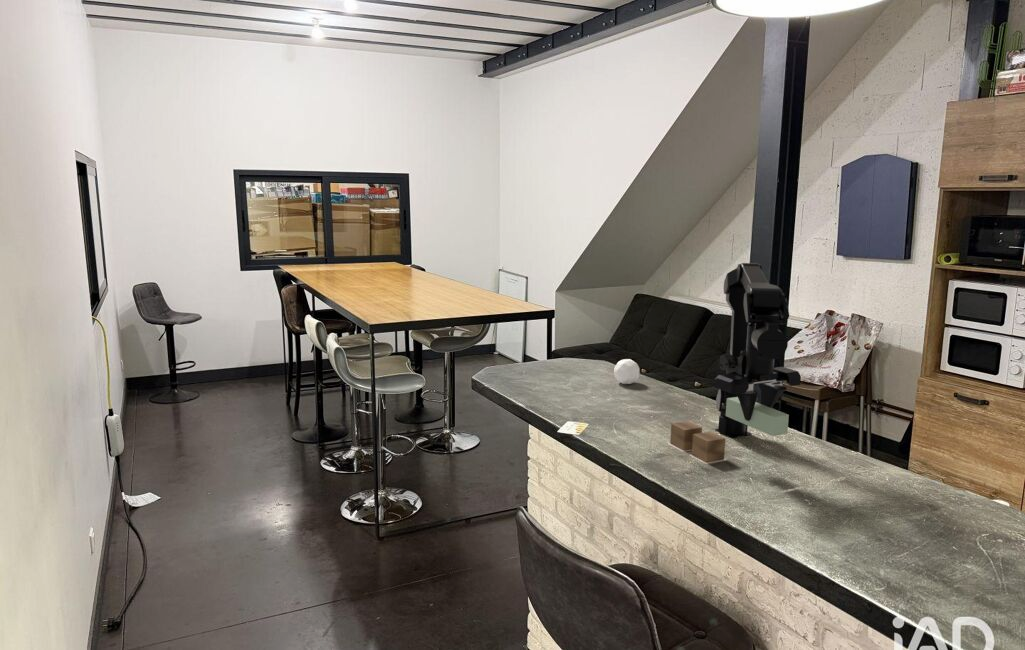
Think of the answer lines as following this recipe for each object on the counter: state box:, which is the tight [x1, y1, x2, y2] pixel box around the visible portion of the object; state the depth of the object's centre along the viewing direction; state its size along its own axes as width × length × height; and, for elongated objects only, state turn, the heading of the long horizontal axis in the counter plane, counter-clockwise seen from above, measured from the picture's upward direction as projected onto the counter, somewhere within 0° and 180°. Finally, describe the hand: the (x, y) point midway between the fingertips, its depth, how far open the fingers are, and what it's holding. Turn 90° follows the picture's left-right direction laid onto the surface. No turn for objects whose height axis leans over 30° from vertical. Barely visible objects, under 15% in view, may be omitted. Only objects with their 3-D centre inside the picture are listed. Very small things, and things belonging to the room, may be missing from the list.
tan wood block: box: [691, 431, 726, 463], centre depth 156 cm, size 5×5×5 cm
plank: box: [726, 397, 790, 437], centre depth 147 cm, size 4×14×4 cm, turn 24°
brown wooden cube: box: [669, 420, 703, 451], centre depth 163 cm, size 5×5×5 cm
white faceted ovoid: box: [613, 358, 640, 385], centre depth 220 cm, size 8×8×12 cm
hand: (755, 418), depth 147 cm, fingers closed on plank, 4 cm apart
